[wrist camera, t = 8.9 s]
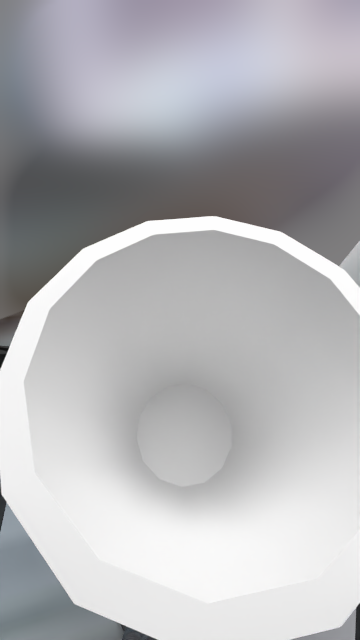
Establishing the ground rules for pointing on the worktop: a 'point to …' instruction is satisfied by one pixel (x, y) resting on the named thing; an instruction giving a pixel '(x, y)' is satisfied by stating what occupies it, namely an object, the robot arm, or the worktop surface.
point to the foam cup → (191, 432)
